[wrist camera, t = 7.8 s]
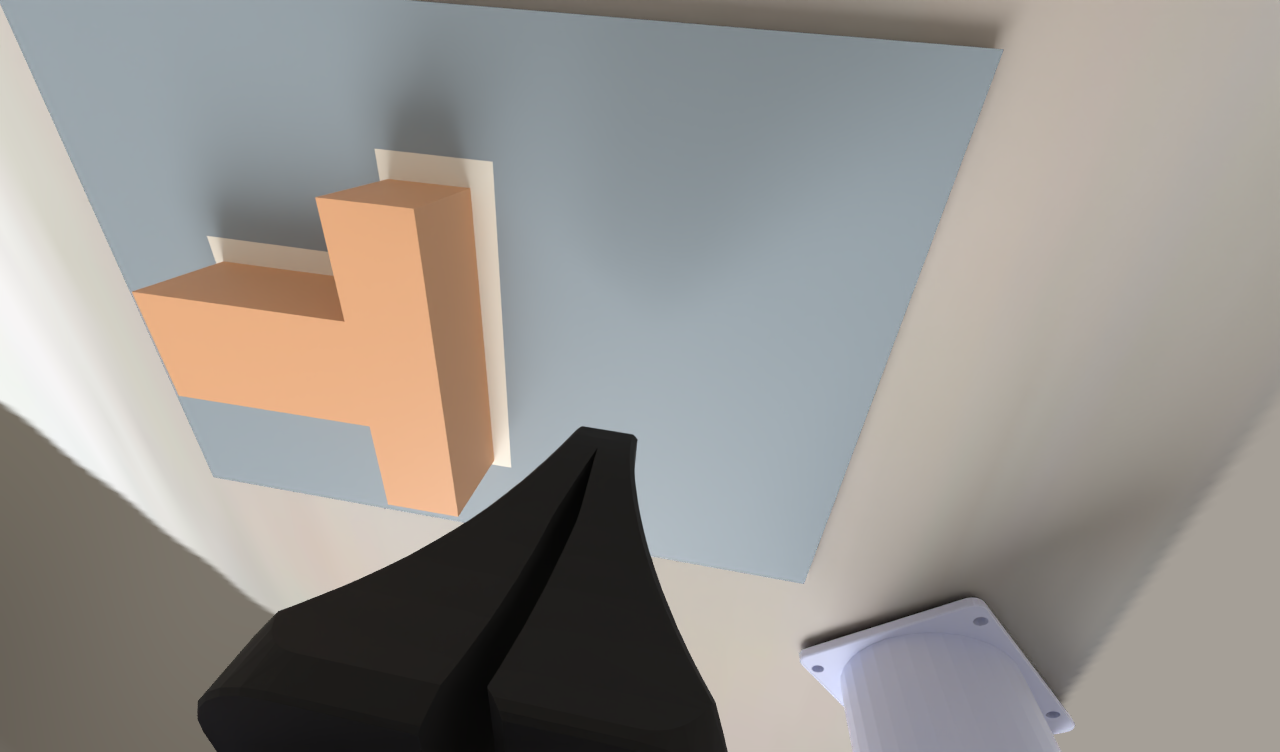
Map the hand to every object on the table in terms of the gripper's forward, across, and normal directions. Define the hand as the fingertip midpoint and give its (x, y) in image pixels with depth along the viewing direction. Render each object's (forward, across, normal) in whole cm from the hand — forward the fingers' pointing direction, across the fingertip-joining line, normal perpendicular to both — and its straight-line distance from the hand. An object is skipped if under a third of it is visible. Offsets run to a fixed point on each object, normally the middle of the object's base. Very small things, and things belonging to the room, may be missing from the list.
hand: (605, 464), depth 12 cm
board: (+6, +6, 0) cm, 8 cm away
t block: (+5, +10, 0) cm, 11 cm away
